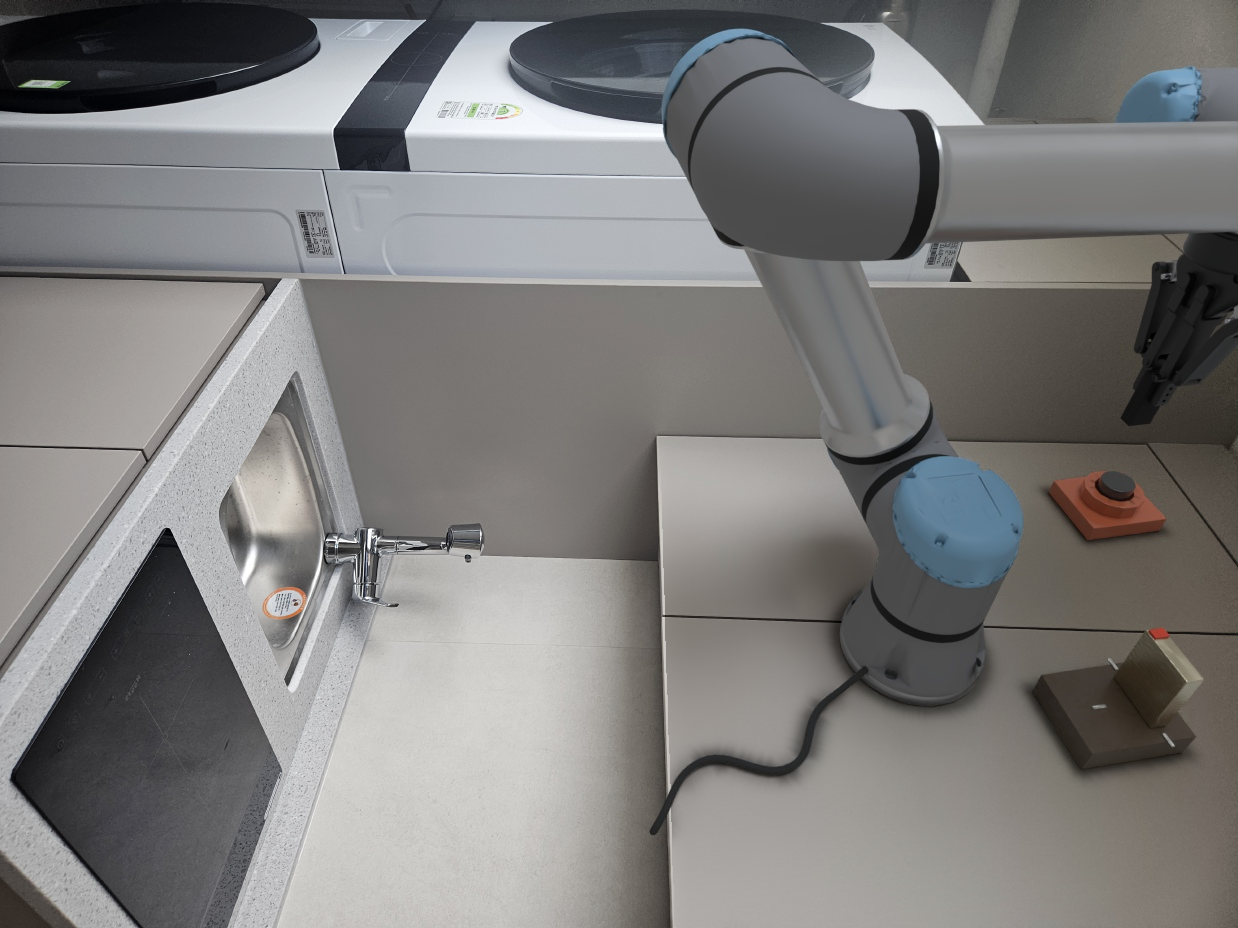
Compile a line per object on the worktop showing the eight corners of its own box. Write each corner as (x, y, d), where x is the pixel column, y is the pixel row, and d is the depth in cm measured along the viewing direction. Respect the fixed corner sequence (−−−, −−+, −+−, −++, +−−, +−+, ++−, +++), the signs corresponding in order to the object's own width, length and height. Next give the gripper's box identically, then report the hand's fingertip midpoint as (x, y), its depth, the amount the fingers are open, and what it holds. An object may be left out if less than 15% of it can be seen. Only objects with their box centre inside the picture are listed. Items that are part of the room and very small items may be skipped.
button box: (1087, 540, 102) (1099, 518, 99) (1048, 492, 109) (1058, 470, 106) (1159, 530, 103) (1173, 508, 100) (1116, 483, 110) (1128, 461, 107)
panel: (1084, 775, 79) (1096, 758, 77) (1028, 685, 86) (1038, 668, 84) (1206, 754, 80) (1221, 738, 78) (1141, 668, 88) (1153, 651, 86)
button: (1108, 503, 102) (1113, 493, 100) (1089, 482, 105) (1094, 472, 103) (1137, 500, 102) (1143, 489, 101) (1117, 479, 105) (1123, 469, 104)
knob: (1167, 725, 79) (1206, 678, 74) (1150, 728, 79) (1188, 680, 73) (1129, 674, 84) (1163, 625, 78) (1113, 676, 83) (1146, 628, 78)
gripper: (1338, 250, 71) (1205, 454, 86) (1229, 191, 80) (1127, 384, 96) (1264, 256, 70) (1143, 462, 85) (1162, 196, 79) (1070, 390, 95)
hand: (1135, 420), depth 90 cm, fingers closed
